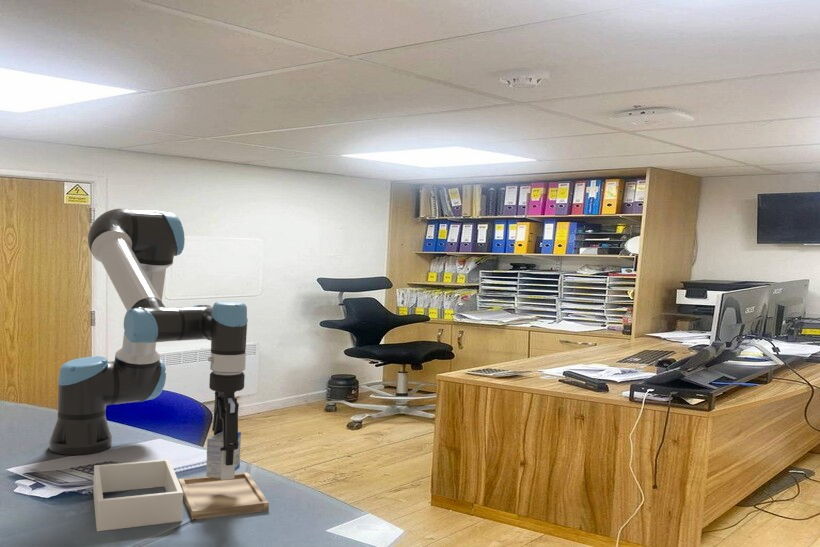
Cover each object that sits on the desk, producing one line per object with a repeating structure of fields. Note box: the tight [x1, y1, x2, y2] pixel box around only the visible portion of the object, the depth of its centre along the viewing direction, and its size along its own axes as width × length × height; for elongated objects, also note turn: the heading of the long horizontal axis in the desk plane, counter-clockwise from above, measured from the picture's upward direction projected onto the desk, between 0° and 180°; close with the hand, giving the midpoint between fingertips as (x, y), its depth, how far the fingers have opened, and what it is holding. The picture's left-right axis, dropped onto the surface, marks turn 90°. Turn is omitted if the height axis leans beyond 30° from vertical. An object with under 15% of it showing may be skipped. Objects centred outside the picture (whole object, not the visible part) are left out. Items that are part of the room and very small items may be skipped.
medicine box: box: [205, 430, 242, 478], centre depth 157 cm, size 8×4×9 cm, turn 168°
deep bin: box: [92, 458, 184, 532], centre depth 151 cm, size 22×16×6 cm
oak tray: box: [178, 472, 270, 521], centre depth 158 cm, size 20×16×2 cm
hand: (223, 471), depth 158 cm, fingers closed on medicine box, 9 cm apart
